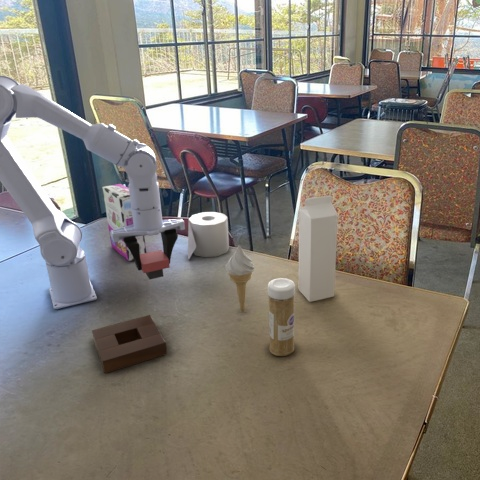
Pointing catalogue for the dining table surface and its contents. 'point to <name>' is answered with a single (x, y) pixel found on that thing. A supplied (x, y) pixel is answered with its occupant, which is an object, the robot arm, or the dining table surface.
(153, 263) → the back pad
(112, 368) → the block
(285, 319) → the sprinkles bottle
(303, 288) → the milk
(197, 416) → the dining table surface
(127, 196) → the candy bar box
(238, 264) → the ice cream cone
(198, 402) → the dining table surface
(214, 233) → the toilet tissue
